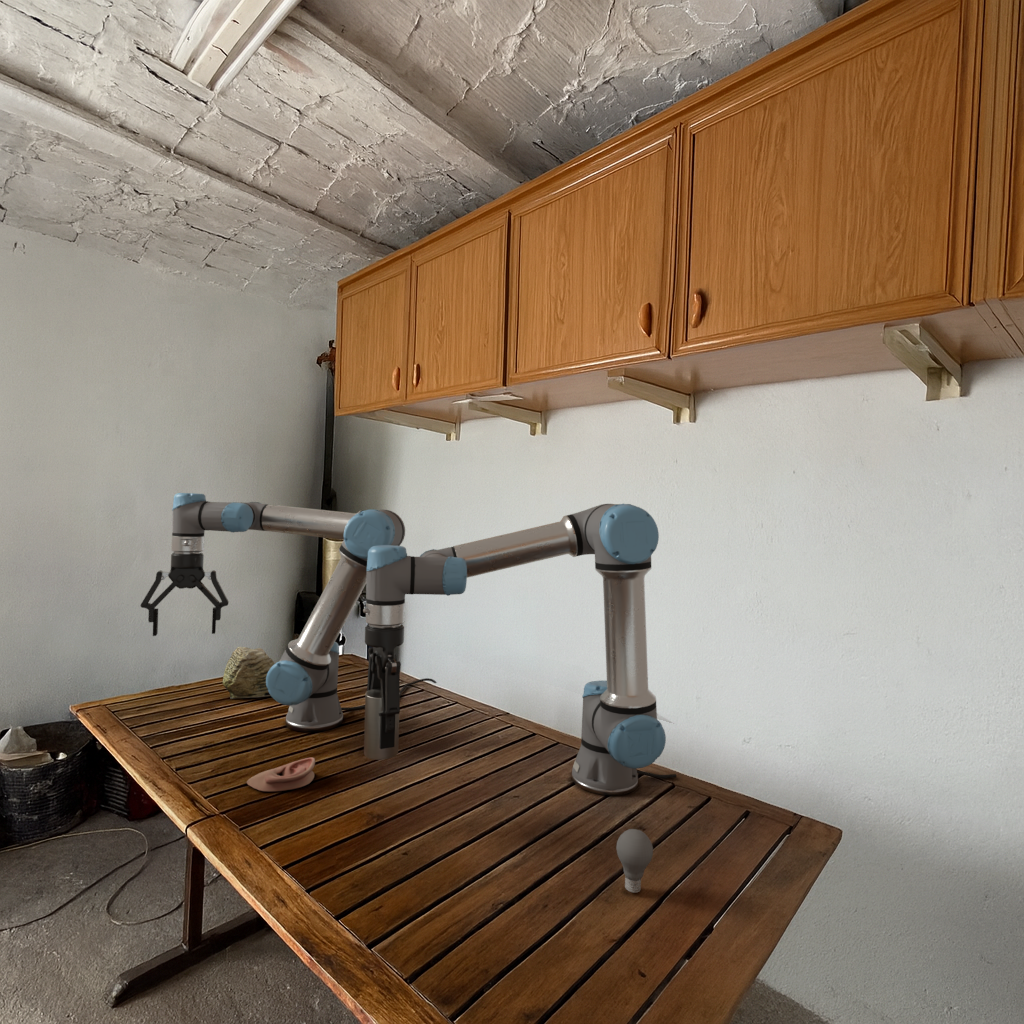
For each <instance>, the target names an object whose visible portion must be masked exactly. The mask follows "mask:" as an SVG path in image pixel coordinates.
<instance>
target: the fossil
mask: <svg viewBox="0 0 1024 1024" xmlns="http://www.w3.org/2000/svg"><path fill="white" fill-rule="evenodd" d="M275 663H276V662H274V660H273V659H272V658H271V657H270V656H269V655H268V654H267V653H266V652H265V650H264V649H263V648H260V647H258V648H251V647H247V646H246V647H245V646H238V647H237V648H236V649H235V650H233V651H232V653H231V656H230V657H229V659H228V660H227V663H226V666H225V668H224V671H223V675H222V676H223V677H222V685H223V687H224V688H225V690H226V691H228V693H229V698H230V699H250V698H264V697H271V695H270V694H269V692H268V688H267V686H266V676H267V673H268V671H269V670H270V668H271V667H272V666H273V665H274V664H275Z"/></svg>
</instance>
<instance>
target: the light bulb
mask: <svg viewBox="0 0 1024 1024" xmlns="http://www.w3.org/2000/svg"><path fill="white" fill-rule="evenodd" d="M615 849H616V854H617V857H618V859H619V861H620V863H621V865H622V867H623V873H624V874H623V875H624V876H625V878H624V888H625V890H627V891H628V892H630V893H634V894H635V893H639V892H640V891H641V889H642V887H641V886H642V879H643V877H644V875H645V871H646V868H647V867H648V866H649V864H650V863H651V861H652V859H653V855H654V847H653V843H652V841H651V838H649V836H648V835H647V834H646V833H645V832H643V831H642V830H641V829H636V828H629V829H627V830H625V831H623V832H622V833H621V834H620V835H619V837H618V839H617V841H616V847H615Z"/></svg>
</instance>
